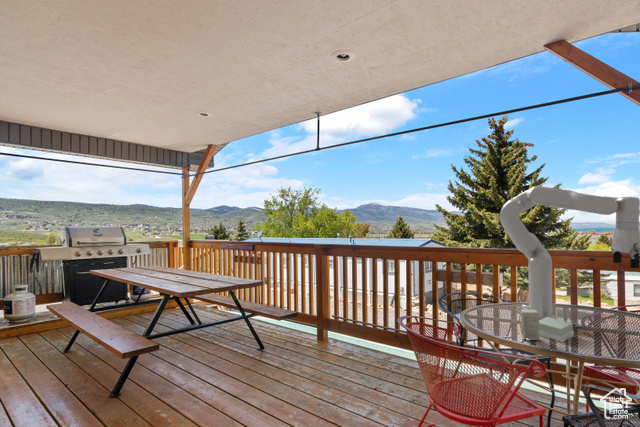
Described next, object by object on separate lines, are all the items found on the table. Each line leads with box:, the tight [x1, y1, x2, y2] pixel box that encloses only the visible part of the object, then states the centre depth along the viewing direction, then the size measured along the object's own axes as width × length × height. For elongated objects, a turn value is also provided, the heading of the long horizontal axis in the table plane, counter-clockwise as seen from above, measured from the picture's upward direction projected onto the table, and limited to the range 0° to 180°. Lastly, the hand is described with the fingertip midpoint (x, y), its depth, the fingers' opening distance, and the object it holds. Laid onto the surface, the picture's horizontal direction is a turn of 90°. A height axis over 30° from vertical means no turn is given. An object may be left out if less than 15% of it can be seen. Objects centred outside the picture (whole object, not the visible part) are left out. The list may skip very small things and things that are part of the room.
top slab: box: [539, 317, 574, 336], centre depth 153 cm, size 10×10×3 cm
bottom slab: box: [539, 330, 575, 342], centre depth 153 cm, size 10×10×3 cm
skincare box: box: [520, 308, 541, 341], centre depth 151 cm, size 6×4×12 cm
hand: (625, 265), depth 154 cm, fingers open, 9 cm apart
